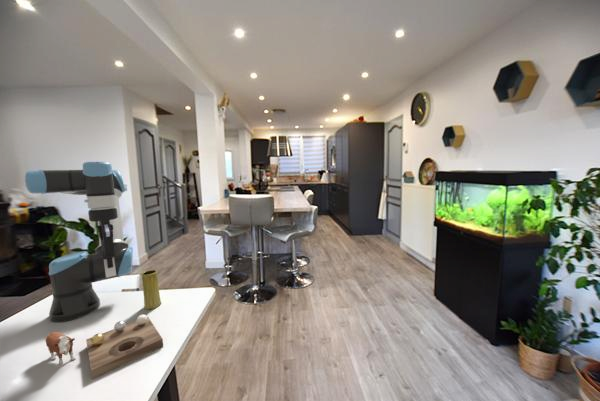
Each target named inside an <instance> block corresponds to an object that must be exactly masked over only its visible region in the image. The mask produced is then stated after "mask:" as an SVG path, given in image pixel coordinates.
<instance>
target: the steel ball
mask: <svg viewBox="0 0 600 401" xmlns="http://www.w3.org/2000/svg"><path fill="white" fill-rule="evenodd" d="M125 327H126V322H125V321H124V320H119V321H118V322H116V323H115V324H114V327H113V329H114V330H115V331H116V332H121V331H123V330H124V329H125Z"/></svg>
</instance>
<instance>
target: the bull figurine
mask: <svg viewBox="0 0 600 401" xmlns="http://www.w3.org/2000/svg"><path fill="white" fill-rule="evenodd" d="M75 340H76V339H75V337H73V338H71V337H70V336H68V335H65V334H63V333H61V332H58V331H57V332H55V331H51V332H50V333H49V334H48V335H47V336H46V338H45V345H46V347H47V349H48V351H49V354H50V355H51V356H50V360H51V361H54V360H56V359H57V357H58V365H59V366H61V365H63V364H64V359H63V355H64V356H68V355H69V356H70V362H73V361H75V360H76V357H75V356H74V351H73V346H74V341H75ZM55 353H56V355H55ZM56 356H57V357H56Z"/></svg>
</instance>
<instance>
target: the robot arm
mask: <svg viewBox="0 0 600 401" xmlns="http://www.w3.org/2000/svg"><path fill="white" fill-rule="evenodd" d="M24 181H25V187H26V189H27V191H28V193H30V194H34V195H35V194H41V195H43V194H56V193H60V194H65V195H76V196H86V199H84V203H87V208H88V209H89V210H88V211H87V212H88V219H89V221H90V222H97V226H96V230H97V232H98V246H97V247H95V250H94V251H95V253H89V252H88V250H86V251H85V250H83V251H75V252H71V253H68V254H66V255H61V256H60V257H57V258H55V259H53V260H52V261H51V262H50V263H49V265H48V269H49V271H48V272H49V273H48V275H49V278H50V284H51V291H52V292H51V293H52V301H51V302H52V303H51V306H50V310H49V314H48V316H49V320H50V322H53V323H62V322H68V321H72V320H76V319H78V318H82V317H85V316H87V315H89V314H91V313H92V312H94V311H96V310H98V309H99V307H100V306H101V300H100V298H99V296H98V294H97V293H96V291H95V290H94V287H93V283H96V282H101V281H104V280H106V281H107V280H111V279H114V278H120V277H123V276H127V275H129V274H131V272H132V271H133V260H134V259H133V254H134V252H133V248H134V247H130V246H129V243H127V242H125V241H124V234H123V225H122V216H121V207H120V198H121V197H122V194H123V193H125V192H126V190H125V183H124V180H123V177H122V174H121V172H120V170H118V169H117V170H116V169H112V164H111V163H110V162H108V161H86V162H83V163H82V169H51V170H50V169H48V170H45V169H44V170H43V169H38V170H28V171H26V172H25V176H24Z"/></svg>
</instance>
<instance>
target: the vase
mask: <svg viewBox="0 0 600 401" xmlns="http://www.w3.org/2000/svg"><path fill="white" fill-rule="evenodd" d="M141 279H142V287H143V288H142V289H143V304H144V305H143V308H144V309H145V310H153V309H155V308H158V307H160V306H161V305H162V301H161V296H160V287H159V279H158V270H156V269H151V270H146V271H144V272H142V274H141ZM160 304H161V305H160ZM159 305H160V306H159Z"/></svg>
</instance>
